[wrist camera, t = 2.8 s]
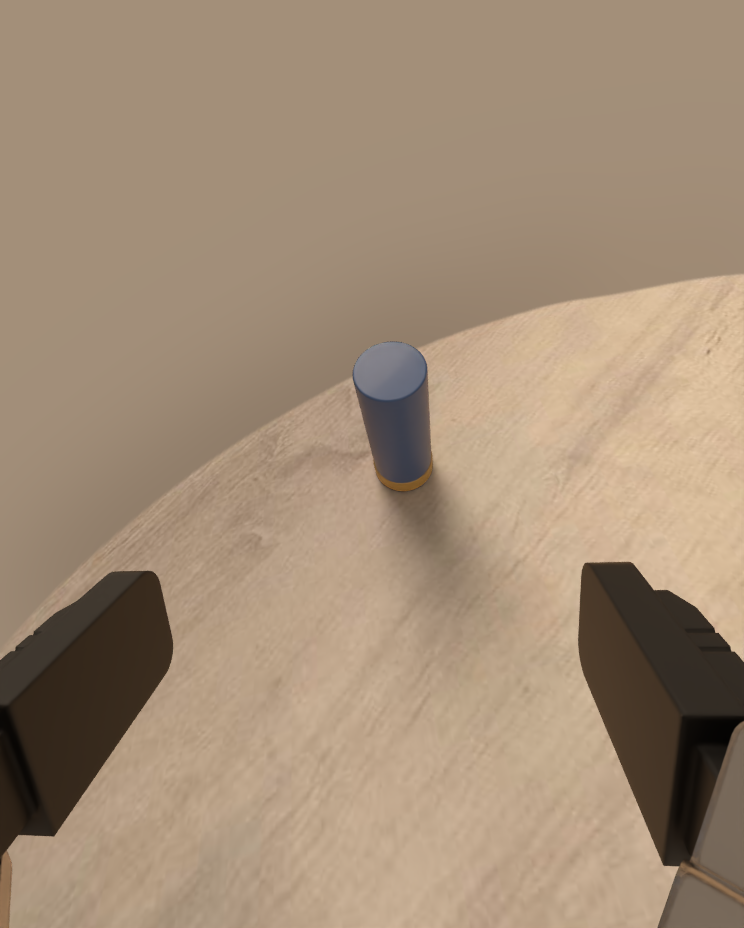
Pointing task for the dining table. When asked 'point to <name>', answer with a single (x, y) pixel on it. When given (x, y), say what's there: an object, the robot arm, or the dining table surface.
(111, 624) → the robot arm
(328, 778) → the dining table surface
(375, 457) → the handle
